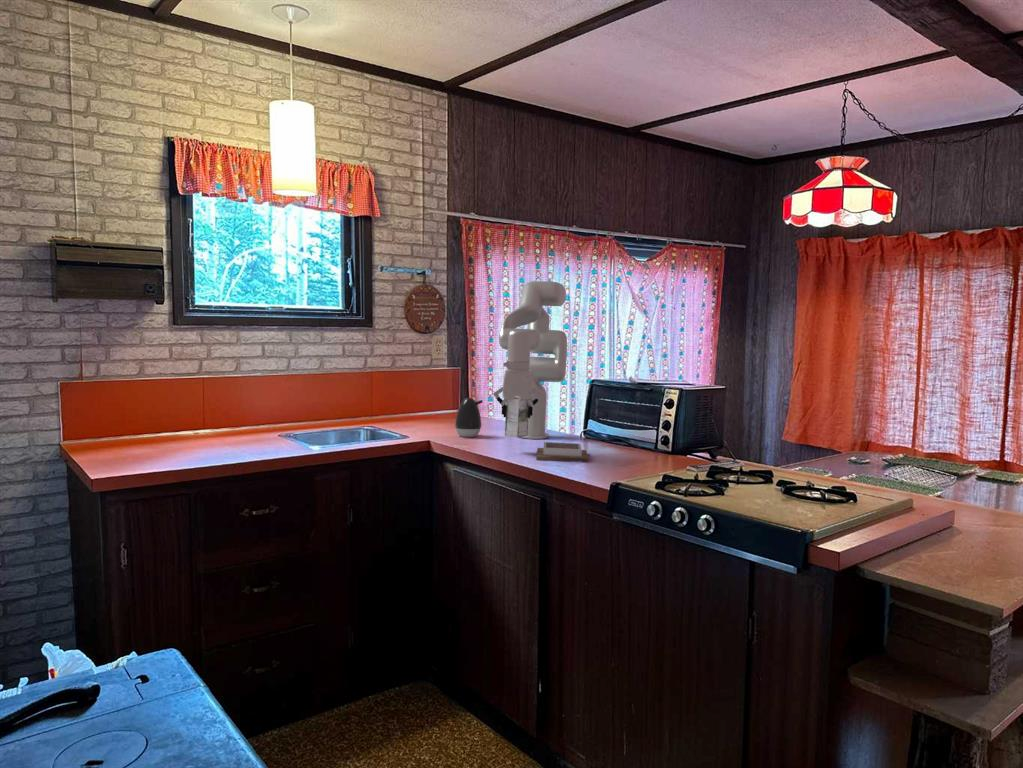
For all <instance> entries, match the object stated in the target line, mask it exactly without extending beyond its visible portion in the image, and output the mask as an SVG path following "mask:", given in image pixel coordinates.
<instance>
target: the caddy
mask: <svg viewBox="0 0 1023 768" xmlns="http://www.w3.org/2000/svg"><path fill="white" fill-rule="evenodd" d="M535 457H536V459H535V460H536V461H548V460H555V461H554V462H570V461H582V462H581V463H589V455H588V452H587V449H582V445H581V443H576V442H575V443H574V442H573V443H572V442H555V441H554V442H551V441H549V442H548V441H544V442H543V447H537V450H536V456H535Z"/></svg>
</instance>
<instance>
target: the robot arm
mask: <svg viewBox="0 0 1023 768" xmlns="http://www.w3.org/2000/svg"><path fill="white" fill-rule="evenodd" d="M520 290H521V292H520V293H521V294H520V295H521V296H520V300H519V304H518V308H516V309H515V310H513V311H511V312H510V313H509V314H508V315H507V316H505V317H504V318H503V320H502V323H501V327H500V329H499V335H498V344H499V347H501V349H503V350H505V351H506V350H507V361H506V362H503V365H502V366H503V367H506V368H507V369H505V370H504V375H503V382H502V387H501V388H499V389H498V390H497V389H496V391H494V392H493V396H494V397H495V399H496V401H497V402H498V403H499V404H500V405H501V415H503V418H506V402H507V400H514V399H515V395H516V396H521V397H522V400H527V401H528V403H529V407H528V434H527V436H523V437H520V438H522V439H529V440H545V439H548V438H549V437H550V435H549V434H548V433H546V422H547V421H546V420H547V418H546V417H547V416H546V415H547V398H548V397H547V390H546V389H545V387H544V386H543V384H542V382H543V383H544V382H547V383H561V382H563V381H564V380H565V378H566V374H567V356H568V337H567V334H566V332H564V331H563V330H559V329H558V330H557V329H556V330H555V329H550V315H549V314H548V312H547V311H546V309H545V308H544V307H561V306H564V303H565V302H566V298H567V292H566V289H565V286H564V285H563V284H562V283H559V282H556V281H542V280H541V281H540V280H539V281H537V280H534V281H529V282H527V283H525V284H524V285H523V286H522V288H521V289H520ZM543 306H544V307H543ZM526 325H527V328H519V327H522V326H526ZM531 354H536V355H537V354H540V355H553V356H554V357H548V356H531ZM501 393H502V398H503V399H502V398H501V397H500V395H499V394H501Z"/></svg>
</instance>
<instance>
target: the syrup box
mask: <svg viewBox="0 0 1023 768" xmlns="http://www.w3.org/2000/svg"><path fill="white" fill-rule="evenodd" d="M528 407H529V403H528V401H527V400H522V397H521V396H516V395H515V399H514V400H507V402H506V417H505V425H504V436H506V437H510V438H521V437H523V436H527V434H528Z"/></svg>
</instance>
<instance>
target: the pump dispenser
mask: <svg viewBox="0 0 1023 768" xmlns="http://www.w3.org/2000/svg"><path fill="white" fill-rule="evenodd" d="M483 402H484V401H483V400H482V399H481V400H477V401H476V400H475V399H474V398H473V397H465V398H464V399H462V402H461V403H460V405H459V408H458V409H457V413H456V417H455V423H454V428H455V430H456V433H457V435H459V436H460V437H462V438H475V437H477V436H478V435H479V434H480V431H481V428H482V417H481V412H480V410H479V406H478V405H480V404H483Z"/></svg>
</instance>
